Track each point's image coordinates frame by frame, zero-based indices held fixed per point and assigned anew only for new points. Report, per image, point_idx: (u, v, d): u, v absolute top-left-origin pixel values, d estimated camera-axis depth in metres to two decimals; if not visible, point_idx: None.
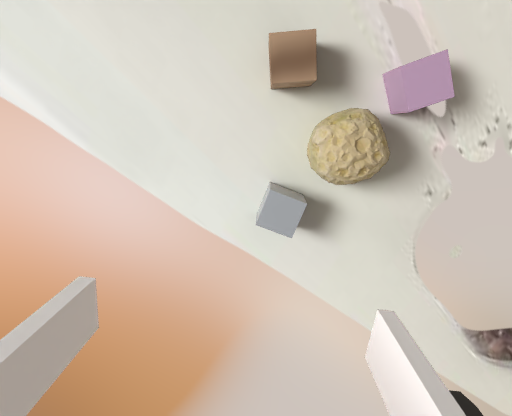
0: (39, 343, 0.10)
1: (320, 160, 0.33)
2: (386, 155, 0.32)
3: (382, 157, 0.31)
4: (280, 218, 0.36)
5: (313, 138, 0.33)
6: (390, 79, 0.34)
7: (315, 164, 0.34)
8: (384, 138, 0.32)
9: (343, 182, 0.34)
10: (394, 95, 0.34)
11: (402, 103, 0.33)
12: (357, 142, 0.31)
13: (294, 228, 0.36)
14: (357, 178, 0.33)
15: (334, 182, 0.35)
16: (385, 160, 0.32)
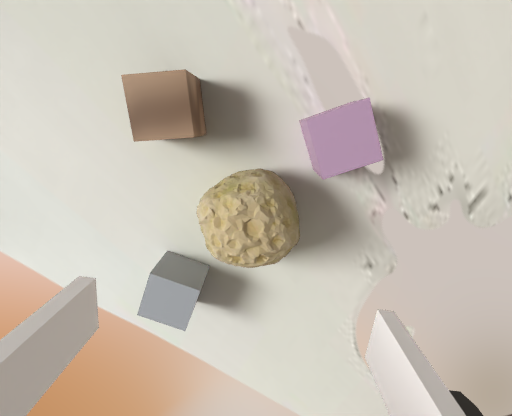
0: (39, 343, 0.10)
1: (207, 241, 0.25)
2: (291, 238, 0.23)
3: (284, 243, 0.23)
4: (167, 308, 0.28)
5: (197, 212, 0.24)
6: (304, 131, 0.25)
7: None
8: (288, 216, 0.23)
9: None
10: (310, 151, 0.26)
11: (317, 164, 0.24)
12: (248, 225, 0.22)
13: (187, 319, 0.28)
14: (257, 265, 0.25)
15: (233, 264, 0.26)
16: (290, 245, 0.24)
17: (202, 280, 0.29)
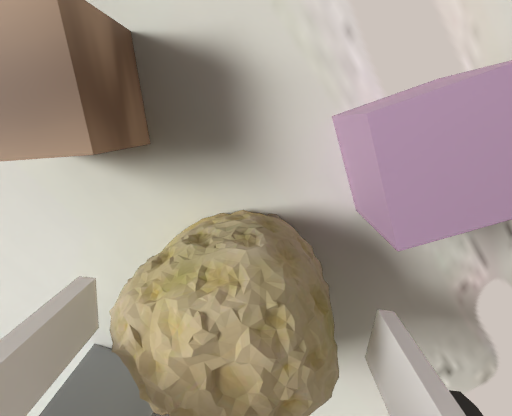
0: (40, 343, 0.10)
1: None
2: (325, 390, 0.10)
3: (309, 406, 0.10)
4: None
5: None
6: (347, 137, 0.12)
7: None
8: (317, 341, 0.10)
9: None
10: (359, 180, 0.12)
11: (378, 213, 0.11)
12: (222, 372, 0.09)
13: None
14: None
15: None
16: (323, 402, 0.10)
17: (147, 415, 0.15)
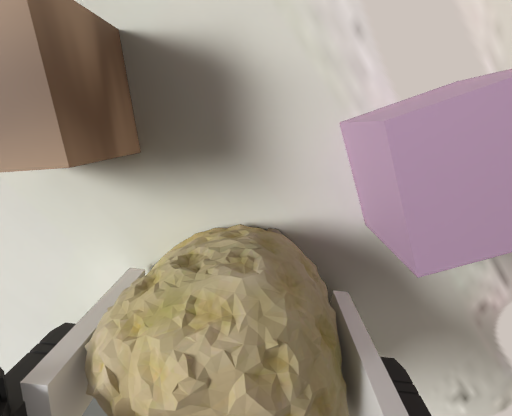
0: None
1: None
2: None
3: None
4: None
5: None
6: (357, 147, 0.11)
7: None
8: (325, 383, 0.08)
9: None
10: (370, 194, 0.11)
11: (393, 231, 0.10)
12: None
13: None
14: None
15: None
16: None
17: None
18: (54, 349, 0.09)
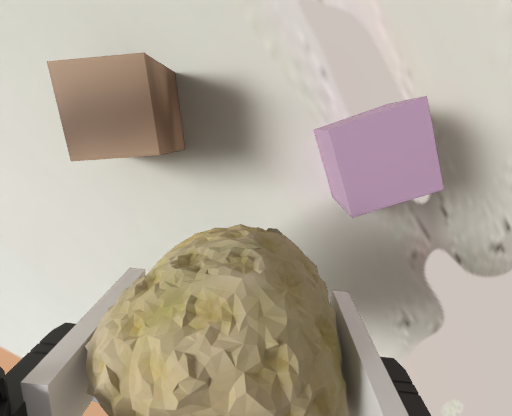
0: None
1: None
2: None
3: None
4: None
5: None
6: (322, 145, 0.18)
7: None
8: (325, 383, 0.08)
9: None
10: (331, 173, 0.18)
11: (341, 194, 0.17)
12: None
13: None
14: None
15: None
16: None
17: None
18: (54, 349, 0.09)
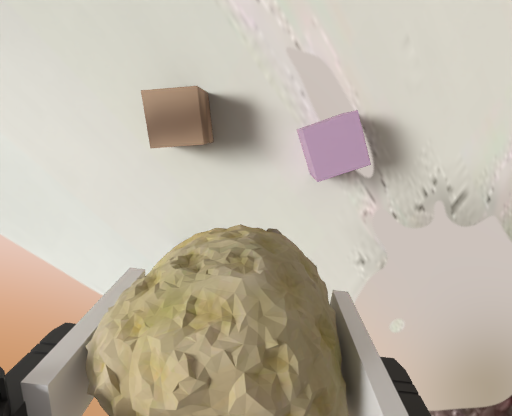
0: None
1: None
2: None
3: None
4: None
5: None
6: (301, 139, 0.28)
7: None
8: (324, 383, 0.09)
9: None
10: (307, 157, 0.29)
11: (312, 168, 0.27)
12: None
13: None
14: None
15: None
16: None
17: None
18: (54, 349, 0.09)
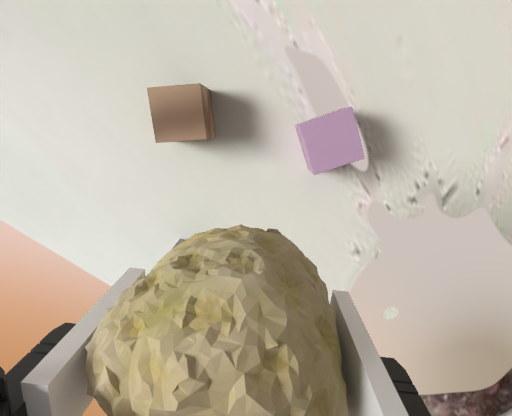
0: None
1: None
2: None
3: None
4: None
5: None
6: (299, 134, 0.30)
7: None
8: (325, 384, 0.08)
9: None
10: (304, 151, 0.30)
11: (309, 162, 0.29)
12: None
13: None
14: None
15: None
16: None
17: None
18: (54, 349, 0.09)
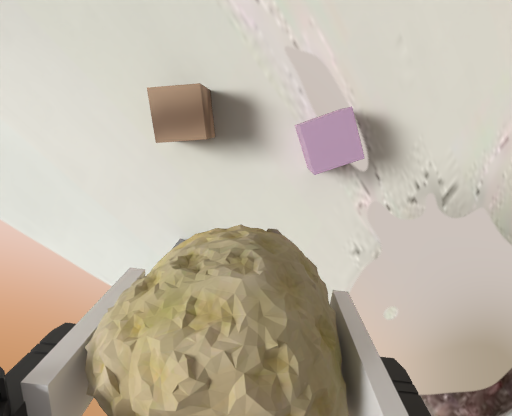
0: None
1: None
2: None
3: None
4: None
5: None
6: (299, 134, 0.30)
7: None
8: (325, 384, 0.08)
9: None
10: (304, 151, 0.30)
11: (309, 162, 0.29)
12: None
13: None
14: None
15: None
16: None
17: None
18: (54, 349, 0.09)
